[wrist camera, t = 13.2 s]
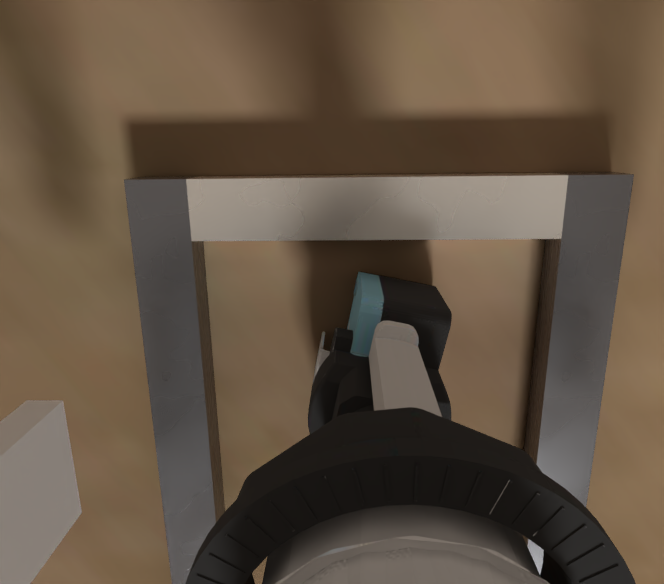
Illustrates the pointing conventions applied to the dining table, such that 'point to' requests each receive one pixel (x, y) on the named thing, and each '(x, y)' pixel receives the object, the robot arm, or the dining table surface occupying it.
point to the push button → (400, 477)
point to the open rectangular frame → (371, 224)
